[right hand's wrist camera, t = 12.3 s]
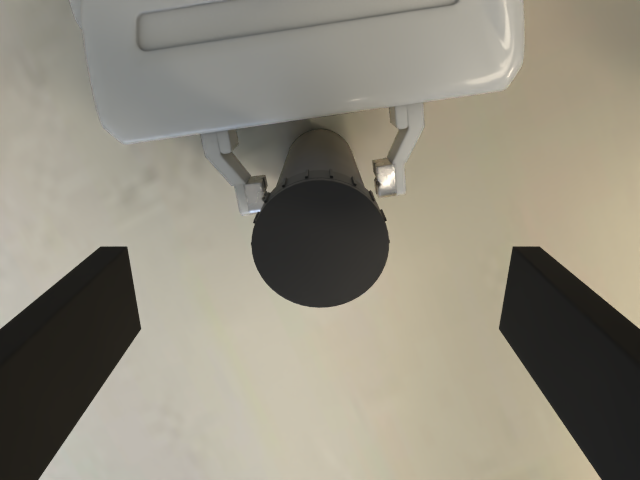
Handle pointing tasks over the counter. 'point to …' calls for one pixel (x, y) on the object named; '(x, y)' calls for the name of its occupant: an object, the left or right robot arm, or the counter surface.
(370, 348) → the counter surface
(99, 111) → the left robot arm
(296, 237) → the lid
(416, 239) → the counter surface
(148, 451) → the counter surface
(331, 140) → the jar
